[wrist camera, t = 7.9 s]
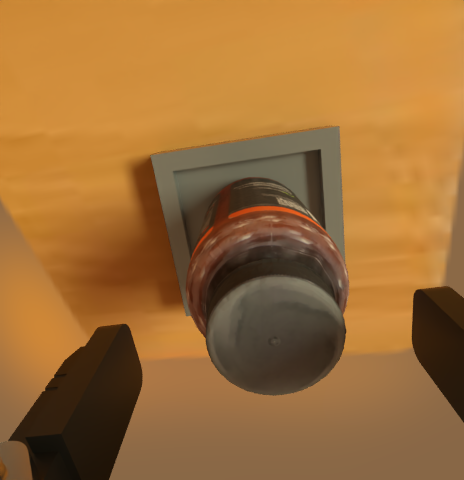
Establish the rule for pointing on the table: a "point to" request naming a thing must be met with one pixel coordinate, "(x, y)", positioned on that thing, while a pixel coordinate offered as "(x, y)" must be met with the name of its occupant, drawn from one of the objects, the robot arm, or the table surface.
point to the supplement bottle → (267, 289)
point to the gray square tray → (243, 166)
